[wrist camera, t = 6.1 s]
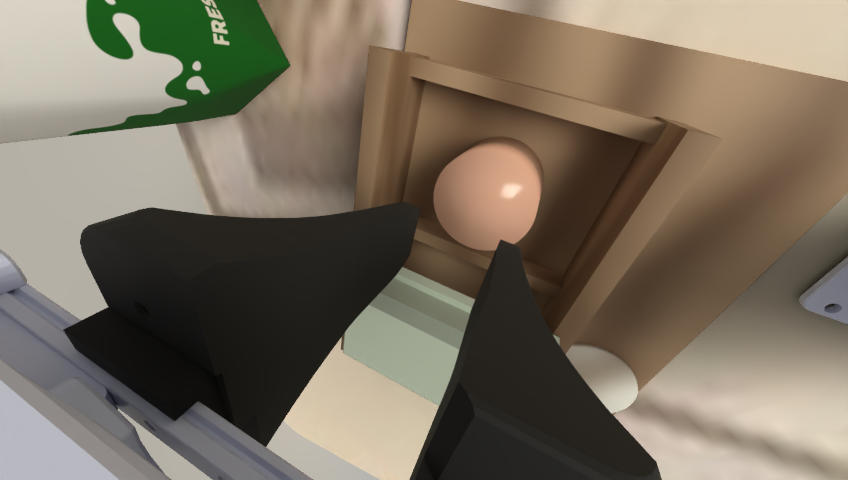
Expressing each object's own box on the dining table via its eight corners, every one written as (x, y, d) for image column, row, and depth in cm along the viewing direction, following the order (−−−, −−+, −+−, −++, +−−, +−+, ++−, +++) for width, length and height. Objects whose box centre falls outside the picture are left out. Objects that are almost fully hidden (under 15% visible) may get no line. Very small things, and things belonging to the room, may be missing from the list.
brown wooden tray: (928, 100, 11) (1137, 114, 7) (582, 438, 24) (584, 508, 20) (417, -7, 15) (365, -36, 11) (366, 326, 29) (333, 365, 25)
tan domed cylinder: (559, 152, 15) (557, 172, 12) (523, 231, 18) (513, 265, 15) (471, 125, 16) (447, 136, 13) (449, 203, 19) (424, 229, 16)
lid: (559, 337, 15) (558, 370, 13) (498, 427, 20) (491, 460, 18) (359, 247, 18) (337, 266, 16) (348, 345, 22) (330, 367, 21)
